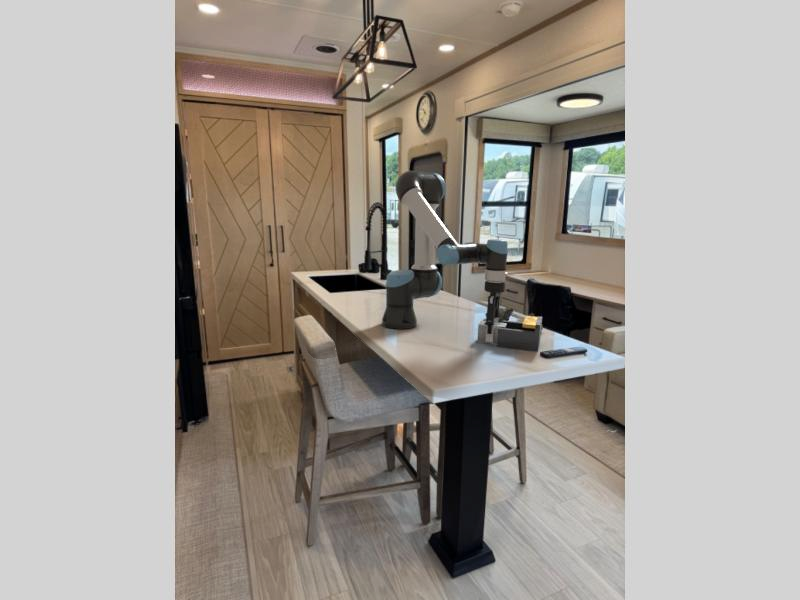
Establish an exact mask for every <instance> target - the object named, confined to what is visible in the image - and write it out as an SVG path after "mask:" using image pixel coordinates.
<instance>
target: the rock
mask: <svg viewBox="0 0 800 600" xmlns="http://www.w3.org/2000/svg"><path fill="white" fill-rule="evenodd" d="M499 313H500V314H499V315H501V317H500V318H498V323H502V321H503V320H504V321H510V317H511V315H512V314H513V313H514V309H513V308H512V307H506V308H503V307H499ZM484 314H485V317H486V316H487V312H486V313H484Z"/></svg>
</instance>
